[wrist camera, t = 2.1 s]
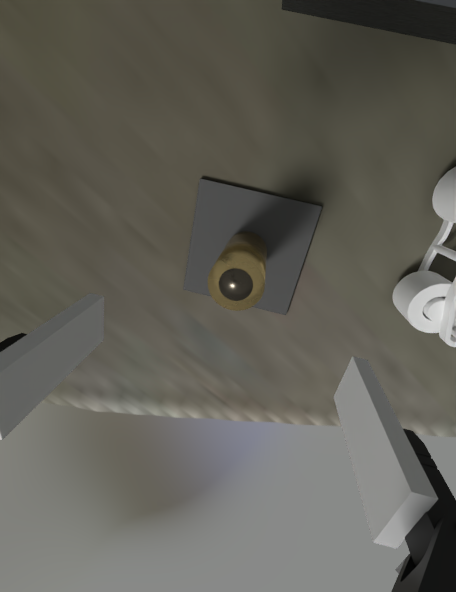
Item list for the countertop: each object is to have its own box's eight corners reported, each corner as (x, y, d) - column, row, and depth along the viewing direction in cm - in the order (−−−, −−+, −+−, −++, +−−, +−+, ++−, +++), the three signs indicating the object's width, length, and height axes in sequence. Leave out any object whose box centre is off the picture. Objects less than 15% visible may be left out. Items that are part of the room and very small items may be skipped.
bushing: (222, 266, 36) (202, 303, 26) (230, 227, 34) (212, 250, 24) (260, 275, 35) (256, 316, 25) (271, 236, 33) (271, 265, 23)
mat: (184, 288, 38) (183, 289, 38) (201, 178, 32) (199, 178, 32) (285, 313, 38) (285, 315, 37) (321, 206, 32) (322, 206, 31)
